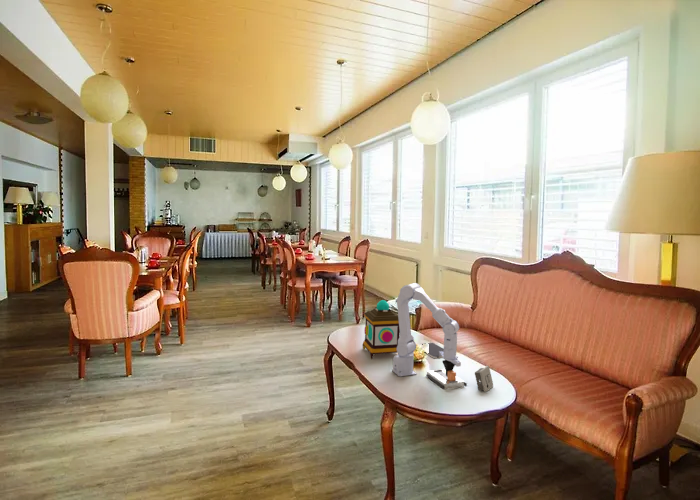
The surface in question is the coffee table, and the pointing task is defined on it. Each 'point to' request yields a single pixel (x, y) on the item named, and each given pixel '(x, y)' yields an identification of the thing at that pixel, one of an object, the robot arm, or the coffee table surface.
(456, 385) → the breaker panel
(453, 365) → the robot arm
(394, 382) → the coffee table surface
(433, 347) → the notebook
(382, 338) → the decorative lantern
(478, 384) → the electrical switch
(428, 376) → the cord left
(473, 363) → the coffee table surface
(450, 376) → the block
